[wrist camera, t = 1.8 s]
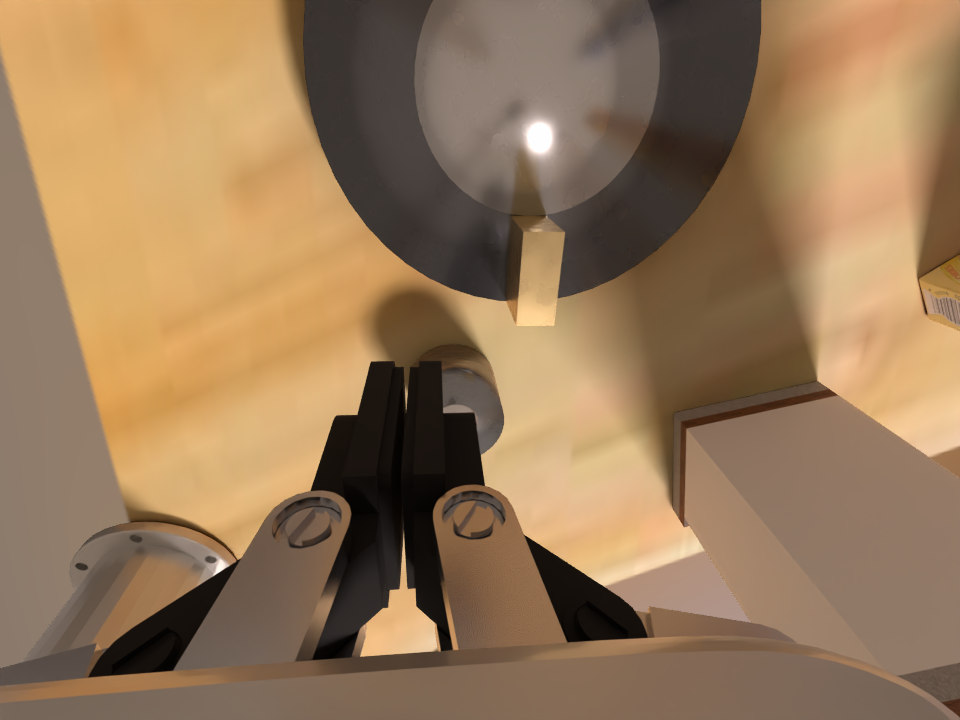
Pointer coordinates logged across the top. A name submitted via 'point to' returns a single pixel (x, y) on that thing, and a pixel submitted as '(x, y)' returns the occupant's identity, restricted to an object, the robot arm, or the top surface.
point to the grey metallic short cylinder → (469, 389)
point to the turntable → (528, 130)
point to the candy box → (943, 293)
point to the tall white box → (828, 529)
